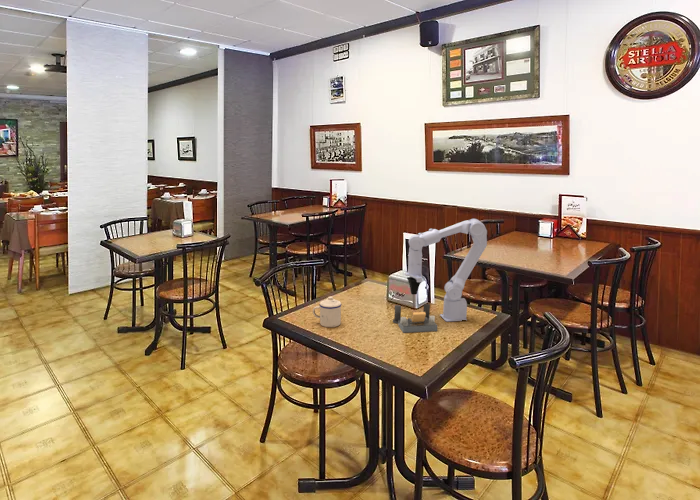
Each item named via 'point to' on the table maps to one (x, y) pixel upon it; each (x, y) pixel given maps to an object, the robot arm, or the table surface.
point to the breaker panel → (417, 325)
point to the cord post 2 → (427, 310)
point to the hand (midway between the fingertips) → (413, 293)
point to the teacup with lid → (329, 312)
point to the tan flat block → (418, 317)
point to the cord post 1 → (397, 314)
